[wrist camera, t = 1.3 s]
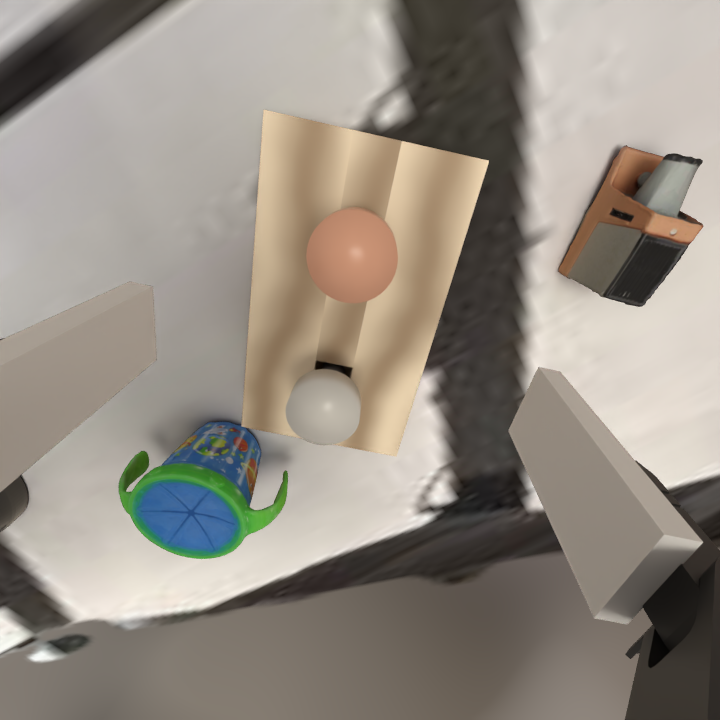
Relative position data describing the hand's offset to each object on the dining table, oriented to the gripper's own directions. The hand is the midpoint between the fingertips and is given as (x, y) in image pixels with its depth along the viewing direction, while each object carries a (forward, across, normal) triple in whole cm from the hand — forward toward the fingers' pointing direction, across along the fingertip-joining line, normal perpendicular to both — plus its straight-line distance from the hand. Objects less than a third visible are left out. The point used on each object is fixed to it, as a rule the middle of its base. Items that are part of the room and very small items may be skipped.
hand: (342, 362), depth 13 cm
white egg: (+17, -1, -10) cm, 19 cm away
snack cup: (+21, -11, -24) cm, 34 cm away
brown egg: (+17, -1, +1) cm, 17 cm away
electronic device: (+22, +18, +6) cm, 29 cm away
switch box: (+21, -1, -4) cm, 22 cm away
